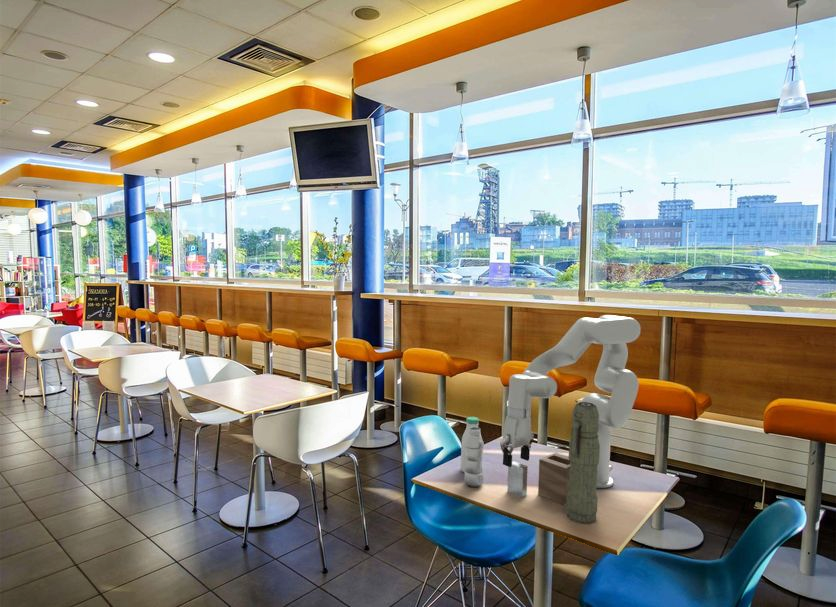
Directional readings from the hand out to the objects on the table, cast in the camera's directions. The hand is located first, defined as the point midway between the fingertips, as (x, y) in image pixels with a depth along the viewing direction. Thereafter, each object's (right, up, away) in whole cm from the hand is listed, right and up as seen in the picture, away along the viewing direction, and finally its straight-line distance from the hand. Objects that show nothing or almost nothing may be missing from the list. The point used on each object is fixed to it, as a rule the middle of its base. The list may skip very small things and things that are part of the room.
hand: (516, 462), depth 170 cm
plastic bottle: (-14, -10, +7) cm, 18 cm away
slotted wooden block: (+15, -11, 0) cm, 18 cm away
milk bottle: (-13, -10, +20) cm, 25 cm away
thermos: (+17, -12, -15) cm, 26 cm away
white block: (0, -11, +1) cm, 11 cm away
